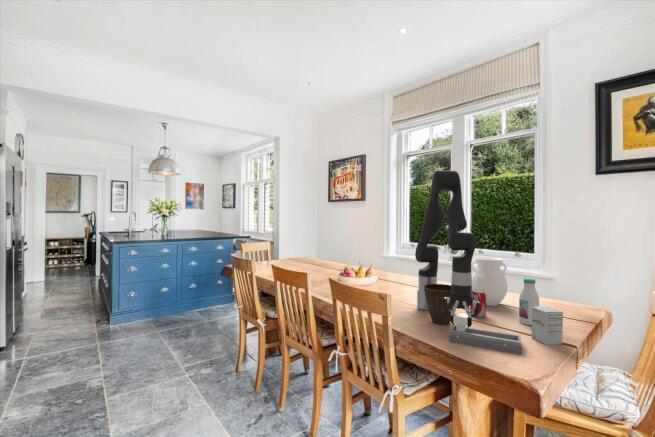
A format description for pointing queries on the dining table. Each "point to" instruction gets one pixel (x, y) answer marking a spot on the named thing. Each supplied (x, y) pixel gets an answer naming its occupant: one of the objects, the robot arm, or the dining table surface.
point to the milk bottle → (527, 301)
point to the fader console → (487, 339)
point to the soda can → (481, 297)
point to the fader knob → (461, 321)
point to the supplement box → (547, 325)
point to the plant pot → (438, 302)
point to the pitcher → (490, 279)
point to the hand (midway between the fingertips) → (461, 325)
